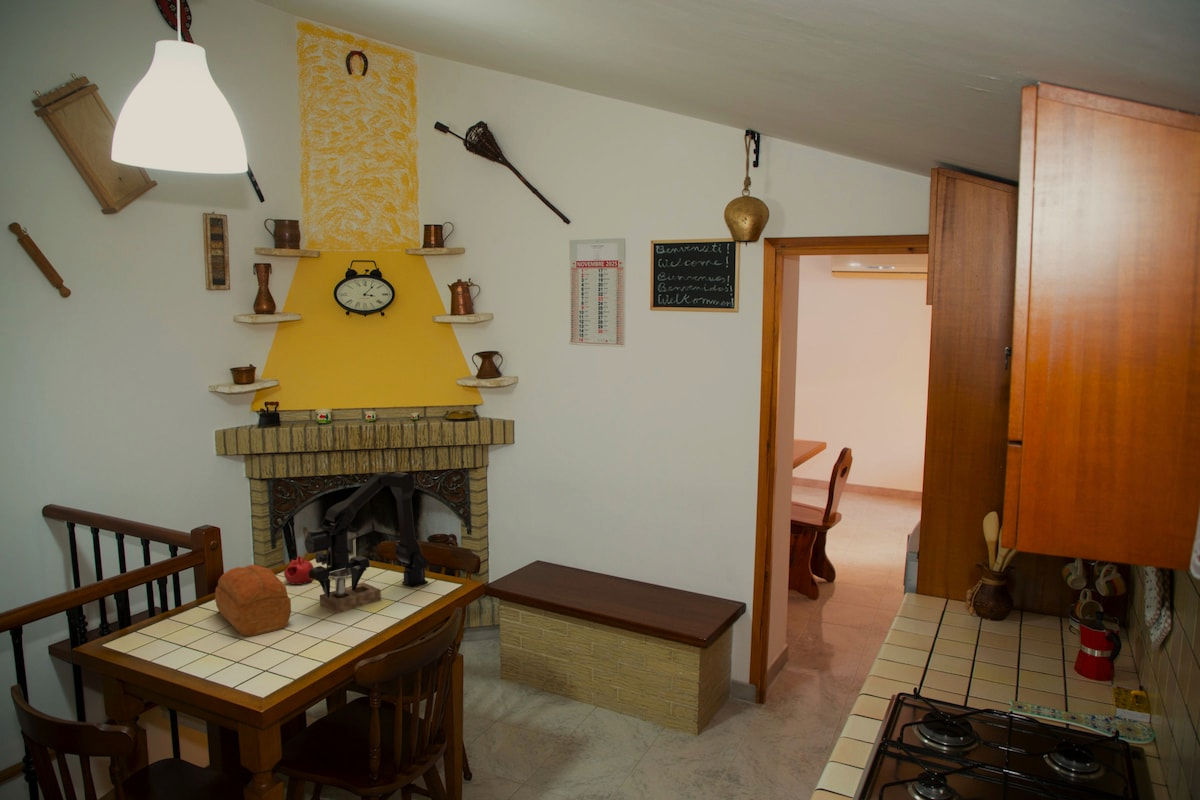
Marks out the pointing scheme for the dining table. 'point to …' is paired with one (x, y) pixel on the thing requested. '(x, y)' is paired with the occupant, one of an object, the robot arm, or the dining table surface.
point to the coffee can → (352, 547)
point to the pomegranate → (298, 571)
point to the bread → (253, 600)
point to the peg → (340, 587)
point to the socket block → (351, 598)
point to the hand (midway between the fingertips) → (340, 593)
